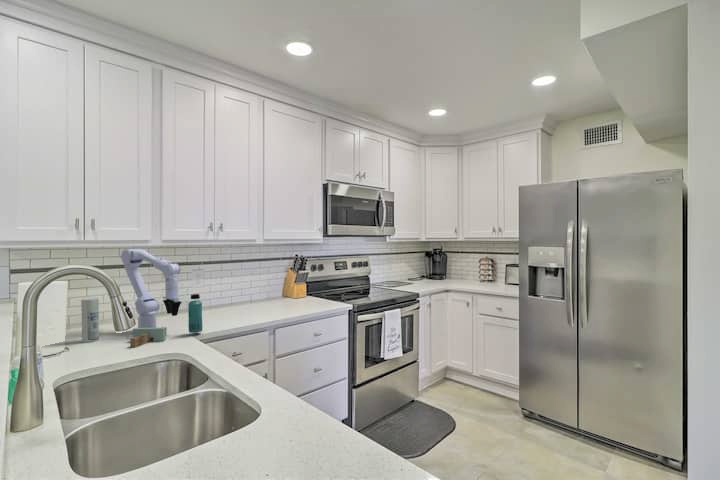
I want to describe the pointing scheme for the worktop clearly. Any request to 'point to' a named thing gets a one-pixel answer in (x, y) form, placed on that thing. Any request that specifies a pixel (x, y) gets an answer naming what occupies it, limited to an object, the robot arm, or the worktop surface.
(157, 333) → the slotted plate
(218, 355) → the worktop surface
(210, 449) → the worktop surface
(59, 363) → the worktop surface
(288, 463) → the worktop surface
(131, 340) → the slotted board
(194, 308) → the beverage bottle
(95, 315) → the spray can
